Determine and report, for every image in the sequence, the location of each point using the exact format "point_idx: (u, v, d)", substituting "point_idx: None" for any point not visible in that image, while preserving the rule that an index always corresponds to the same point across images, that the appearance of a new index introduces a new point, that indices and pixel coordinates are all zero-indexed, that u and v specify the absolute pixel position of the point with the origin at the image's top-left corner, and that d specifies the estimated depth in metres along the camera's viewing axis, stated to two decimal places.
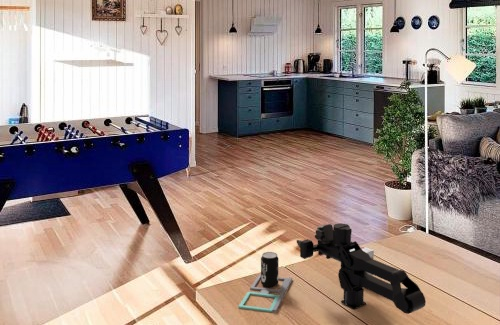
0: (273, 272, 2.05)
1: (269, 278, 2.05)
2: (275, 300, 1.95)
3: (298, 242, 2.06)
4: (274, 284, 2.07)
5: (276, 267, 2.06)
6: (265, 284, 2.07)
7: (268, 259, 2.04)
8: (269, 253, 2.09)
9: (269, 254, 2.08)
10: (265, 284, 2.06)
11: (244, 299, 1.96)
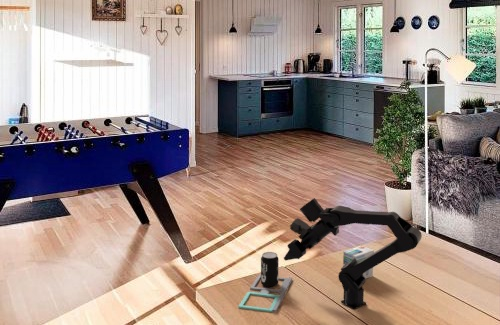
0: (273, 272, 2.05)
1: (269, 278, 2.05)
2: (275, 300, 1.95)
3: (286, 257, 1.97)
4: (274, 284, 2.07)
5: (276, 267, 2.06)
6: (265, 284, 2.07)
7: (269, 259, 2.04)
8: (269, 253, 2.09)
9: (269, 254, 2.08)
10: (265, 284, 2.06)
11: (244, 299, 1.96)
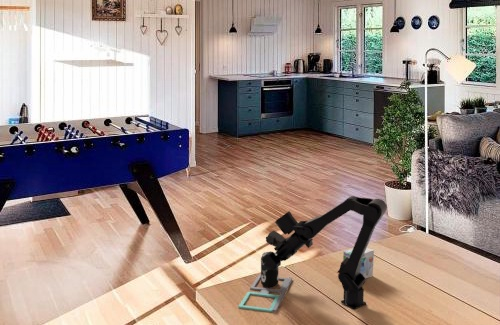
0: (273, 272, 2.05)
1: (269, 278, 2.05)
2: (275, 300, 1.95)
3: (263, 267, 2.04)
4: (274, 284, 2.07)
5: None
6: (265, 284, 2.07)
7: None
8: None
9: None
10: (265, 284, 2.06)
11: (244, 299, 1.96)
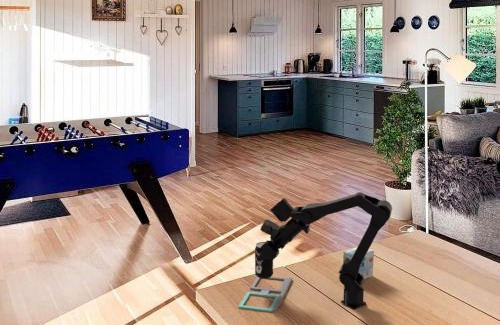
0: (269, 262, 1.99)
1: (265, 269, 1.99)
2: (275, 300, 1.95)
3: (259, 257, 1.97)
4: (270, 274, 2.00)
5: None
6: (261, 275, 2.00)
7: None
8: (262, 243, 2.02)
9: None
10: (261, 275, 2.00)
11: (244, 299, 1.96)
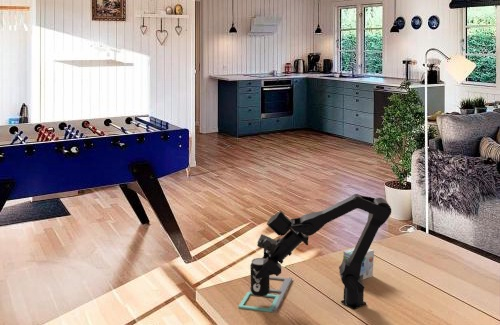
0: (267, 279, 1.91)
1: (264, 286, 1.91)
2: (275, 300, 1.95)
3: (258, 275, 1.89)
4: (268, 291, 1.93)
5: None
6: (259, 294, 1.91)
7: (262, 266, 1.89)
8: (257, 259, 1.94)
9: (258, 260, 1.93)
10: (260, 293, 1.91)
11: (244, 299, 1.96)
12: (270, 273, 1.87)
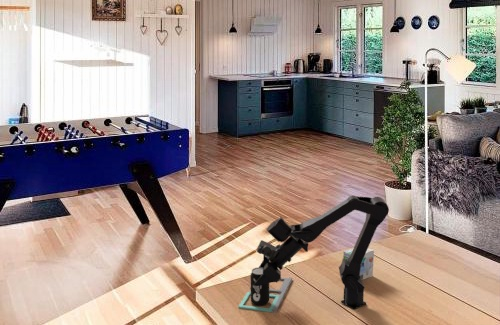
0: (267, 289, 1.92)
1: (264, 296, 1.92)
2: (275, 300, 1.95)
3: (258, 282, 1.88)
4: (267, 301, 1.93)
5: None
6: (259, 303, 1.92)
7: None
8: (257, 269, 1.94)
9: (258, 270, 1.94)
10: (259, 303, 1.92)
11: (244, 299, 1.96)
12: (269, 281, 1.87)
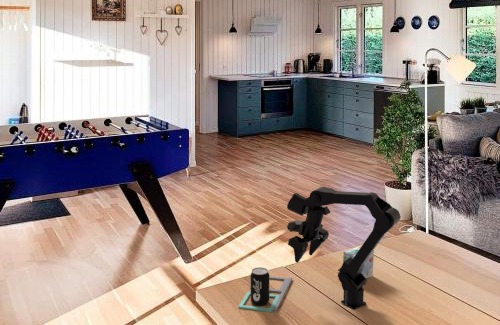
0: (267, 289, 1.92)
1: (264, 296, 1.92)
2: (275, 300, 1.95)
3: (296, 258, 1.97)
4: (267, 301, 1.93)
5: None
6: (259, 303, 1.92)
7: (262, 276, 1.90)
8: (257, 269, 1.94)
9: (258, 270, 1.94)
10: (259, 303, 1.92)
11: (244, 299, 1.96)
12: (301, 253, 1.94)
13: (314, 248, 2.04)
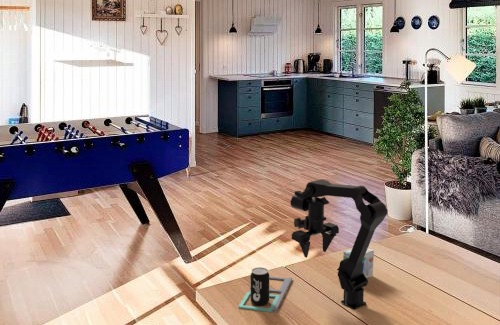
0: (267, 289, 1.92)
1: (264, 296, 1.92)
2: (275, 300, 1.95)
3: (304, 253, 2.01)
4: (267, 301, 1.93)
5: None
6: (259, 303, 1.92)
7: (262, 276, 1.90)
8: (257, 269, 1.94)
9: (258, 270, 1.94)
10: (259, 303, 1.92)
11: (244, 299, 1.96)
12: (305, 246, 1.98)
13: (326, 244, 2.05)
